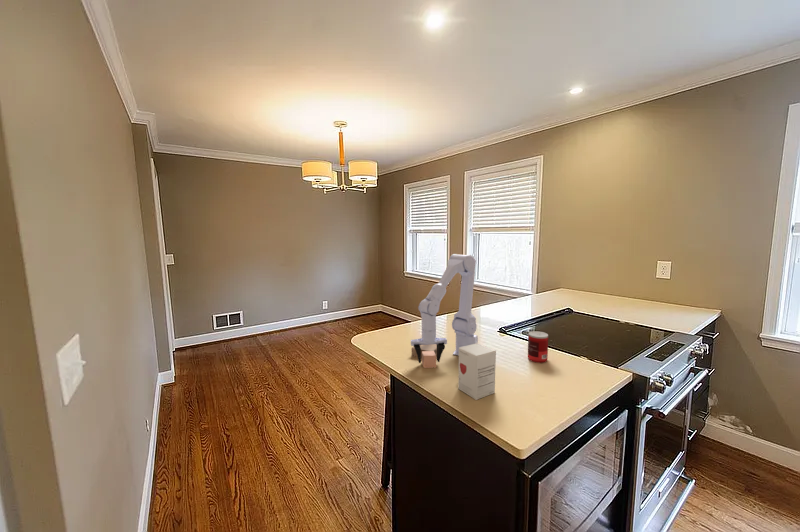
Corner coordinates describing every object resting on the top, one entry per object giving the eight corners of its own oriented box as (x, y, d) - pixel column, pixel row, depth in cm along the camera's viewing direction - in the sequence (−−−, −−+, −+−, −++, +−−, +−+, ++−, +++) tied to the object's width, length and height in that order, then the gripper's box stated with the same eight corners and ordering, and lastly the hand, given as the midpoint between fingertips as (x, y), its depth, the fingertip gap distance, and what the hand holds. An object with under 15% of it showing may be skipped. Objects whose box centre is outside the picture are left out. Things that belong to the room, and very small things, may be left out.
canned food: (547, 357, 138) (548, 332, 137) (547, 364, 131) (548, 338, 130) (528, 354, 142) (529, 330, 140) (527, 361, 135) (527, 335, 133)
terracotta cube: (433, 362, 135) (433, 350, 134) (436, 367, 130) (436, 355, 130) (421, 363, 135) (421, 351, 134) (423, 368, 130) (423, 356, 129)
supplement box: (457, 389, 112) (457, 347, 111) (476, 382, 117) (477, 342, 115) (475, 400, 104) (476, 355, 103) (495, 393, 109) (496, 350, 107)
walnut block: (441, 352, 147) (441, 343, 146) (433, 360, 138) (433, 351, 137) (420, 349, 151) (420, 340, 151) (411, 356, 142) (411, 347, 142)
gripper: (444, 325, 135) (443, 356, 137) (409, 327, 134) (409, 358, 135) (448, 330, 128) (448, 363, 130) (412, 332, 127) (412, 365, 128)
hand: (428, 361), depth 132 cm, fingers open, 7 cm apart
